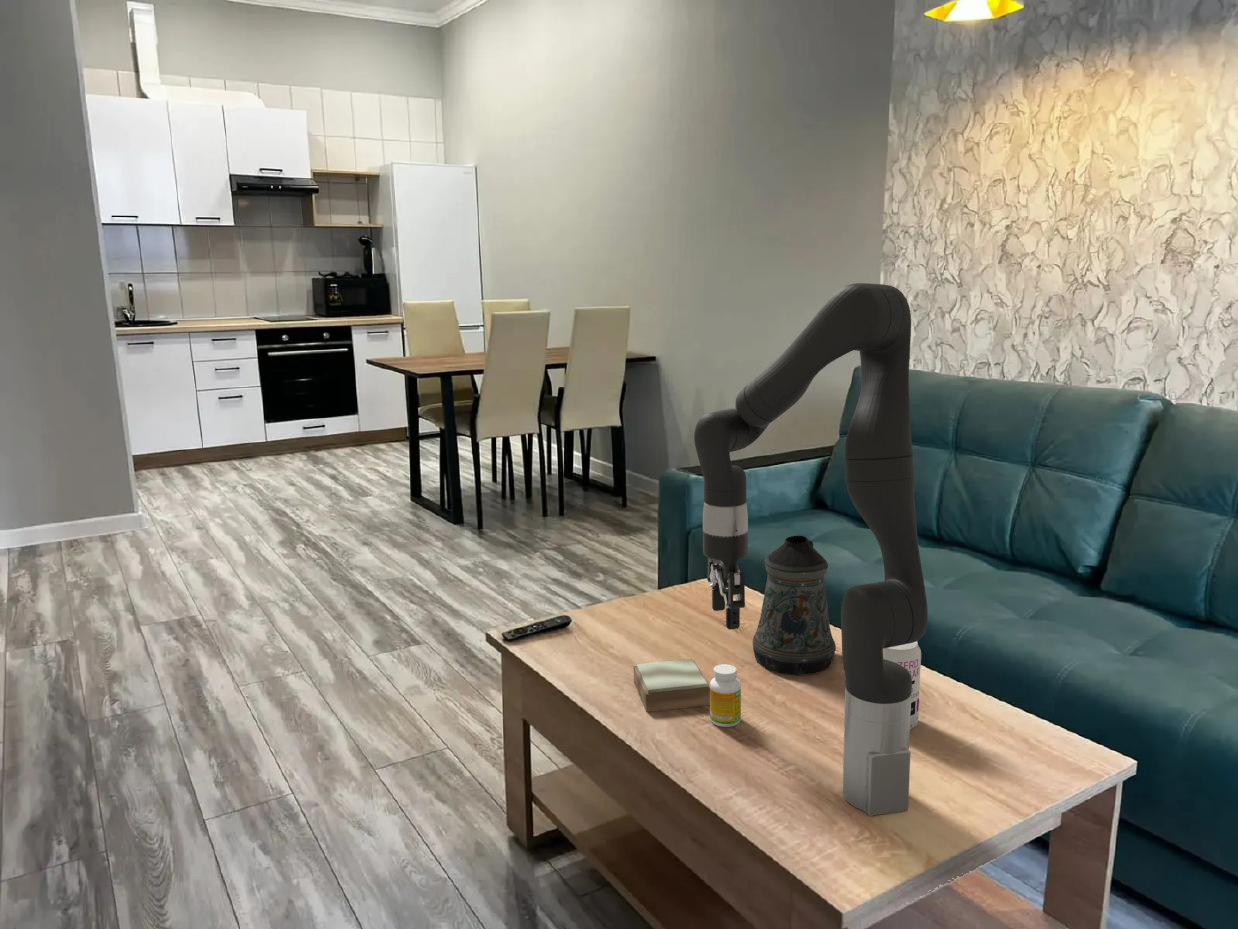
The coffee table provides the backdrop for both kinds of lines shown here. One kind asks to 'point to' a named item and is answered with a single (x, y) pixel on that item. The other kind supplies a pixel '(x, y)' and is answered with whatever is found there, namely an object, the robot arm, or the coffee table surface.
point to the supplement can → (912, 662)
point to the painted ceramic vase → (795, 612)
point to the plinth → (671, 685)
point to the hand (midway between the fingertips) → (725, 618)
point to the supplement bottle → (725, 696)
